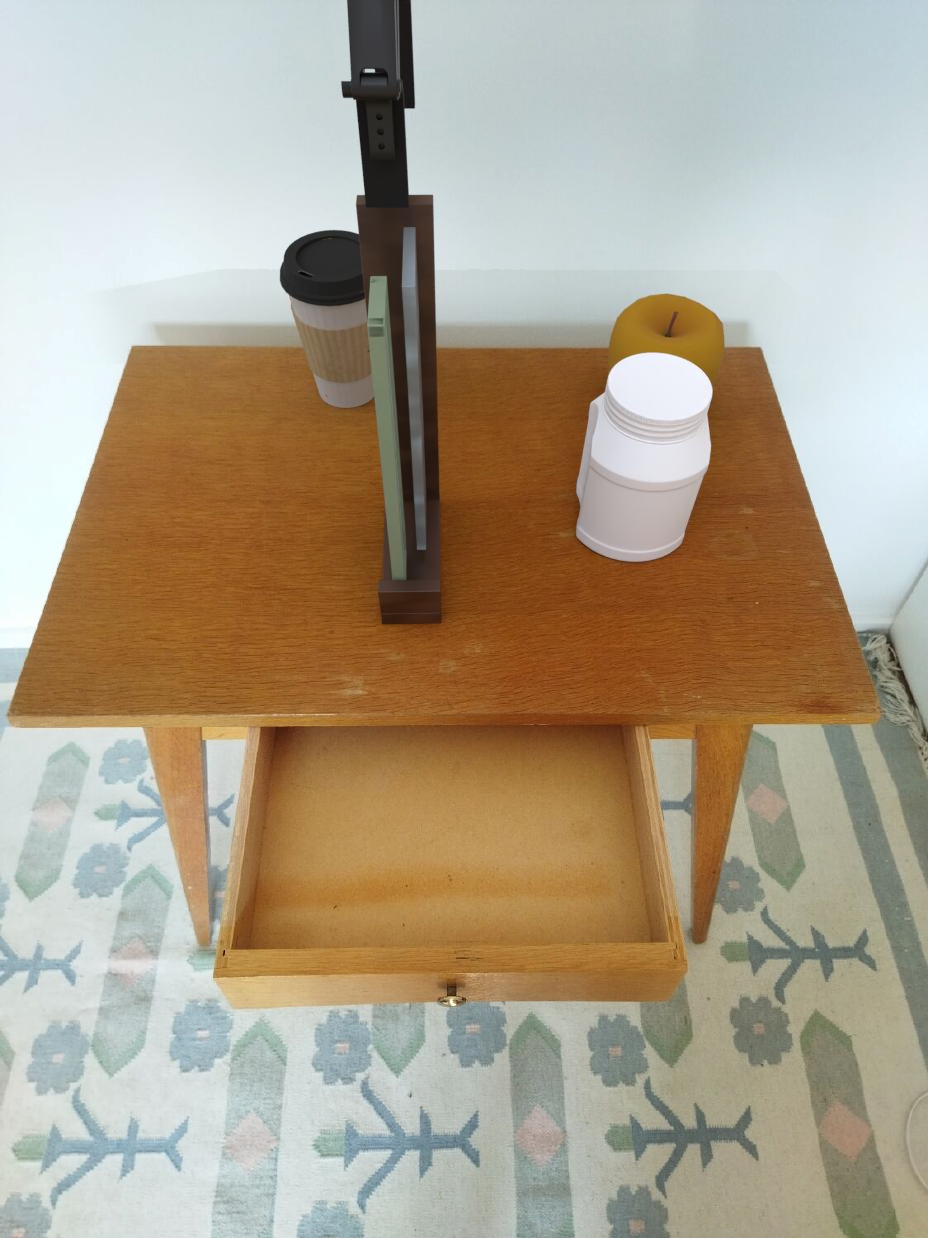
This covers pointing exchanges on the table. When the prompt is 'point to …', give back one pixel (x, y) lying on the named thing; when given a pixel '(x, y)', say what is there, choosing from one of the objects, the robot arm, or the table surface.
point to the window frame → (410, 396)
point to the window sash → (387, 421)
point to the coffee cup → (331, 313)
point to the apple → (669, 332)
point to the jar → (644, 457)
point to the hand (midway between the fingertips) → (392, 152)
